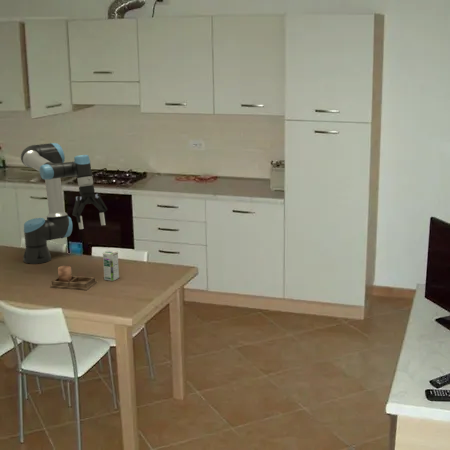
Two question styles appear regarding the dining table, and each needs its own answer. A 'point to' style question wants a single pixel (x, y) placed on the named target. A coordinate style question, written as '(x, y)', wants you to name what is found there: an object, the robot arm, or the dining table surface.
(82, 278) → the caddy
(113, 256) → the syrup box
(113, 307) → the dining table surface
